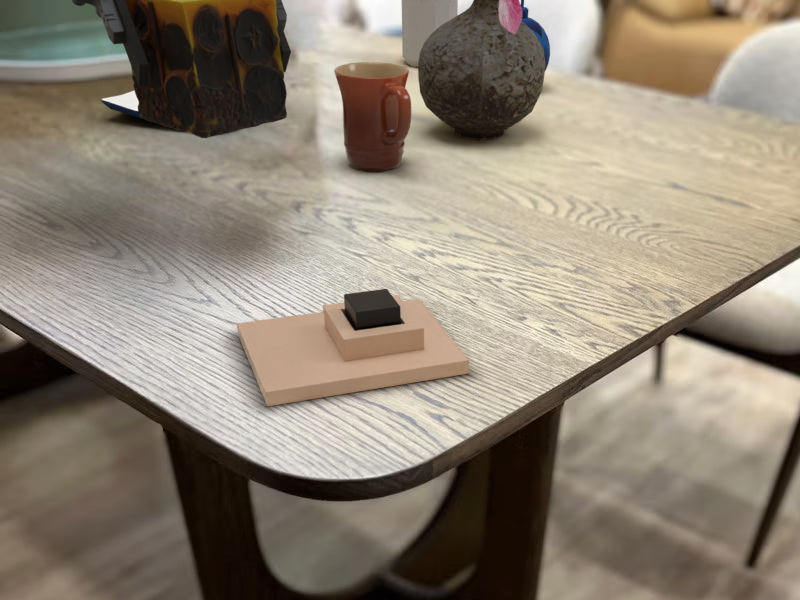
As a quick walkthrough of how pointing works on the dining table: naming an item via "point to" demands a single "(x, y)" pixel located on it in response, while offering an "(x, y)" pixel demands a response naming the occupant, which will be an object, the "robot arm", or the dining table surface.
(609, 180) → the dining table surface
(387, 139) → the mug
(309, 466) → the dining table surface
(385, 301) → the key
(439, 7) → the jar
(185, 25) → the candle
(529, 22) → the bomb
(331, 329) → the tan stepped platform
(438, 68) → the vase
